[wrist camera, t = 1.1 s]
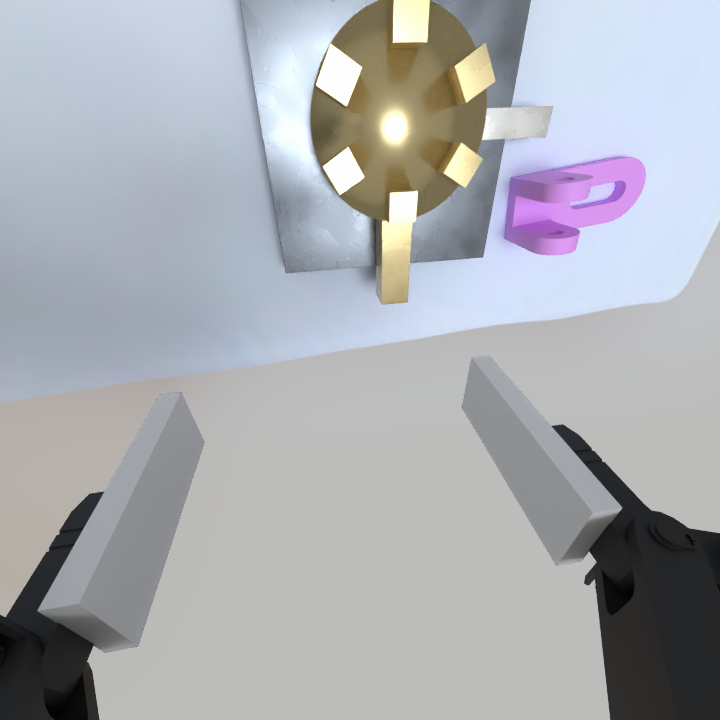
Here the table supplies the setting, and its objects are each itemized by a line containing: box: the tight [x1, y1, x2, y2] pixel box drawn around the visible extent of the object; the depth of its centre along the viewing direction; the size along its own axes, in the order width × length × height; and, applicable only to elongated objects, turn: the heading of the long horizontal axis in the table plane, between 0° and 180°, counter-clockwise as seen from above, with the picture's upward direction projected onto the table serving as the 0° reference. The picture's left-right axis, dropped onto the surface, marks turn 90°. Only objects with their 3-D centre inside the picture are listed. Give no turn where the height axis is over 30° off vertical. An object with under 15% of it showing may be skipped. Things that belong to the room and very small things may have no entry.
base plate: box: [240, 0, 553, 273], centre depth 25 cm, size 22×21×3 cm
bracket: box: [504, 157, 646, 255], centre depth 29 cm, size 13×6×7 cm, turn 99°
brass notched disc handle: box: [310, 0, 495, 305], centre depth 24 cm, size 19×12×4 cm, turn 2°
